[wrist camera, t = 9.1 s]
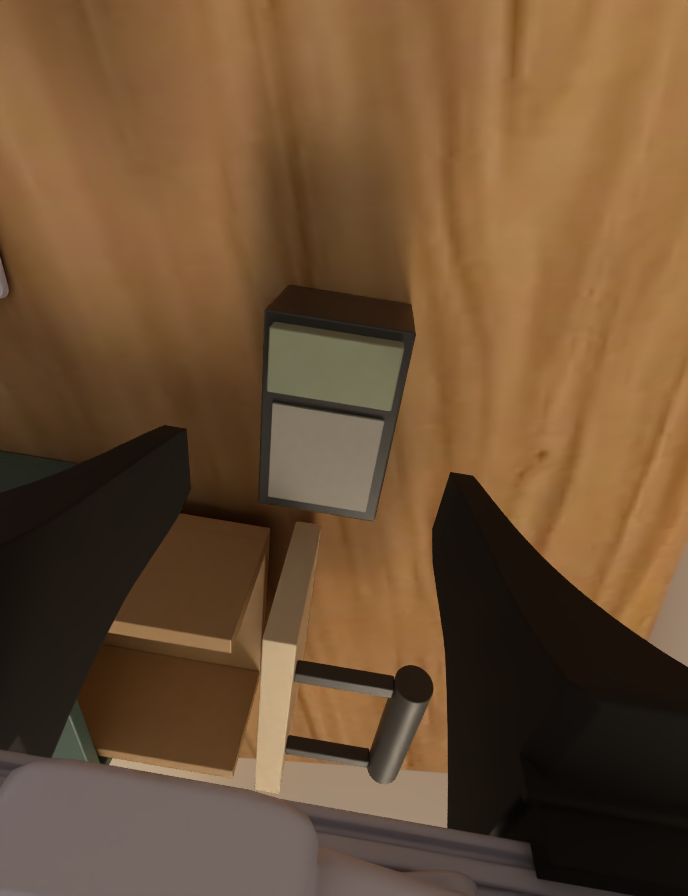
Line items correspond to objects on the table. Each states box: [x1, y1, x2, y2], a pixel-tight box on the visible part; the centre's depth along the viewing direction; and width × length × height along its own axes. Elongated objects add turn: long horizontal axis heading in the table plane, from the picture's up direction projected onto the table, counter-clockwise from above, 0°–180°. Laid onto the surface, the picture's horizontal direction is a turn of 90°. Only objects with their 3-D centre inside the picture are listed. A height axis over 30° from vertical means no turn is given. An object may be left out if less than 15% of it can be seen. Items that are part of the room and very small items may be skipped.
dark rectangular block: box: [258, 285, 416, 521], centre depth 16 cm, size 4×7×4 cm, turn 173°
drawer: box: [77, 513, 433, 794], centre depth 21 cm, size 19×12×6 cm, turn 82°
